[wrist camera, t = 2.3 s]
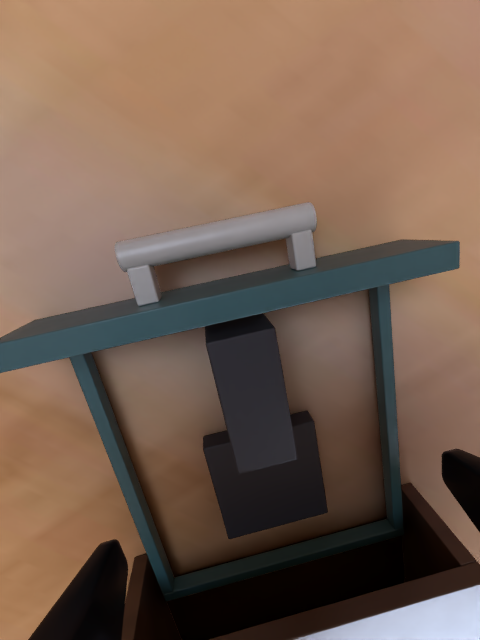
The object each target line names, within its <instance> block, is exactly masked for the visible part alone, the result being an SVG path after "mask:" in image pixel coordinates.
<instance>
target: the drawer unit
mask: <svg viewBox="0 0 480 640" xmlns="http://www.w3.org/2000/svg"><path fill="white" fill-rule="evenodd" d="M401 494H402V511H403V528H404V535H402V545H403V561H404V577H405V583H402V584H398V585H395V586H391V587H388V588H384V589H381V590H378V591H374V592H371V593H367V594H364V595H360V596H357V597H353V598H350V599H347V600H343V601H340V602H336V603H333V604H329V605H326V606H323V607H319V608H316V609H312V610H309V611H305V612H302V613H298V614H295V615H292V616H288V617H285V618H281V619H278V620H274V621H271V622H267V623H264V624H261V625H257V626H254V627H250V628H247V629H243V630H240V631H236V632H233V633H230V634H226V635H223V636H219V637H216V638H212V639H209V640H480V564H479V563H478V562H476V560H475V558H474V557H473V556H472V555H471V554H470V552H469V551H468V550H467V549H466V548H465V546H464V545H463V544H462V543H461V542H460V541H459V539H458V538H457V537H456V536H455V535H454V533H453V532H452V531H451V530H450V529H449V527H448V526H447V525H446V524H445V523H444V522H443V520H442V519H441V518H440V517H439V516H438V514H437V513H436V512H435V511H434V510H433V508H432V507H431V506H430V505H429V504H428V503H427V501H426V500H425V499H424V498H423V497H422V495H421V494H420V493H419V492H418V491H417V490H416V488H415V487H414V486H413V485H412V484H411V483H408V484H405V485H401ZM121 640H182V639H181V636H180V634H179V631H178V629H177V626H176V624H175V621H174V619H173V616H172V614H171V611H170V608H169V606H168V603H167V601H165V598H164V596H163V594H162V591H161V588H160V586H159V583H158V581H157V578H156V576H155V573H154V571H153V568H152V566H151V563H150V561H149V558H148V556H147V554H146V555H142V556H138V557H135V558H134V563H133V568H132V572H131V577H130V582H129V587H128V592H127V596H126V601H125V608H124V618H123V629H122V639H121Z"/></svg>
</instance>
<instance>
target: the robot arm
mask: <svg viewBox="0 0 480 640" xmlns="http://www.w3.org/2000/svg"><path fill="white" fill-rule="evenodd" d="M442 478H443V480H444V483H445V484H446V486H447V487H448V489H449V490H450V491H451V493H452V494H453V496H454V497H455V498H456V500H457V501H458V503H459V504H460V505H461V507H462V508H463V510H464V511H465V512H466V514H467V515H468V517H469V518H470V519H471V521H472V522H473V524H474V525H475V526H476V528H477V529H478V531H479V532H480V457H477V456H475V455H472V454H470V453H468V452H465V451H463V450H460V449H453V450H449V451H445V452H443V454H442ZM127 576H128V564H127V560H126V557H125V555H124V553H123V550H122V548H121V546H120V543H119V541H118V540H116V539H114V540H110V541H106V542H103V543H101V544H100V545H99V546H98V547H97V548H96V549H95V551H94V552H93V553H92V555H91V556H90V557H89V559H88V560H87V562H86V563H85V564H84V566H83V567H82V568H81V570H80V571H79V572H78V574H77V575H76V576H75V578H74V579H73V580H72V582H71V583H70V584H69V586H68V587H67V588H66V590H65V591H64V592H63V594H62V595H61V596H60V598H59V599H58V600H57V602H56V603H55V604H54V606H53V607H52V608H51V610H50V611H49V612H48V614H47V615H46V617H45V618H44V619H43V621H42V622H41V623H40V625H39V626H38V627H37V629H36V630H35V631H34V633H33V634H32V635H31V637H30V638H29V639H28V640H121V639H122V629H123V618H124V608H125V597H126V586H127Z"/></svg>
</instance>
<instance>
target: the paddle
mask: <svg viewBox="0 0 480 640" xmlns="http://www.w3.org/2000/svg"><path fill="white" fill-rule="evenodd" d="M205 337H206V347H207V351H208V355H209V359H210V363H211V367H212V371H213V375H214V379H215V383H216V387H217V391H218V395H219V399H220V403H221V407H222V411H223V415H224V419H225V423H226V427H227V431H223V432H219V433H215V434H211V435H207V436H204V437H203V450H204V454H205V457H206V461H207V464H208V468H209V471H210V475H211V479H212V482H213V486H214V489H215V493H216V496H217V500H218V503H219V507H220V510H221V514H222V517H223V521H224V525H225V528H226V532H227V535H228V538H229V539H232V538H236V537H240V536H243V535H247V534H251V533H254V532H258V531H262V530H265V529H269V528H273V527H277V526H280V525H284V524H288V523H291V522H295V521H299V520H302V519H306V518H310V517H313V516H317V515H321V514H324V513H327V512H328V511H327V504H326V498H325V491H324V484H323V478H322V471H321V465H320V458H319V451H318V445H317V438H316V432H315V425H314V421H313V419H312V417H311V416H310V414H309V412H308V411H304V412H300V413H296V414H292V415H290V411H289V405H288V399H287V394H286V388H285V382H284V377H283V371H282V365H281V360H280V354H279V348H278V343H277V337H276V331H275V328H274V327H273V325H272V324H271V323H270V321H269V320H268V319H267V318H266V316H265V315H264V314H263V313H261V314H257V315H252V316H248V317H244V318H239V319H235V320H230V321H226V322H222V323H217V324H213V325H208V326H205Z"/></svg>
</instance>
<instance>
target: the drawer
mask: <svg viewBox="0 0 480 640" xmlns="http://www.w3.org/2000/svg"><path fill="white" fill-rule="evenodd" d="M316 225H317V218H316V212H315V209H314V206H313V204H312V203H310V202H307V203H302V204H297V205H292V206H287V207H283V208H278V209H273V210H268V211H263V212H259V213H254V214H249V215H244V216H239V217H234V218H230V219H225V220H220V221H215V222H210V223H206V224H201V225H196V226H191V227H186V228H182V229H177V230H172V231H167V232H162V233H157V234H153V235H148V236H143V237H138V238H133V239H129V240H124V241H119V242H116V243H115V254H116V258H117V261H118V264H119V266H120V268H121V269H122V270H123V271H124V272H127V273H128V276H129V279H130V282H131V286H132V289H133V292H134V295H135V298H133V299H129V300H124V301H120V302H115V303H111V304H106V305H101V306H97V307H92V308H88V309H83V310H79V311H74V312H70V313H65V314H60V315H56V316H51V317H47V318H42V319H38V320H34V321H32V322H30V323H28V324H26V325H24V326H22V327H20V328H18V329H16V330H14V331H12V332H10V333H9V334H7V335H5V336H3V337H1V338H0V373H3V372H7V371H11V370H16V369H20V368H24V367H29V366H33V365H38V364H42V363H46V362H51V361H55V360H59V359H64V358H68V357H69V358H70V360H71V363H72V365H73V368H74V370H75V373H76V375H77V378H78V381H79V383H80V386H81V388H82V391H83V393H84V396H85V398H86V401H87V403H88V406H89V408H90V411H91V414H92V416H93V419H94V421H95V424H96V426H97V429H98V431H99V434H100V436H101V439H102V441H103V444H104V446H105V449H106V452H107V454H108V457H109V459H110V462H111V464H112V467H113V469H114V472H115V474H116V477H117V479H118V482H119V485H120V487H121V490H122V492H123V495H124V497H125V500H126V502H127V505H128V507H129V510H130V512H131V515H132V517H133V520H134V523H135V525H136V528H137V530H138V533H139V535H140V538H141V540H142V543H143V545H144V548H145V550H146V553H147V556H148V558H149V561H150V563H151V566H152V568H153V571H154V573H155V576H156V578H157V581H158V583H159V586H160V588H161V591H162V594H163V596H164V598H165V601H170V600H174V599H177V598H181V597H185V596H188V595H192V594H195V593H199V592H202V591H206V590H209V589H213V588H217V587H220V586H224V585H227V584H231V583H234V582H238V581H242V580H245V579H249V578H252V577H256V576H259V575H263V574H266V573H270V572H274V571H277V570H281V569H284V568H288V567H291V566H295V565H299V564H302V563H306V562H309V561H313V560H316V559H320V558H324V557H327V556H331V555H334V554H338V553H341V552H345V551H348V550H352V549H356V548H359V547H363V546H366V545H370V544H373V543H377V542H381V541H384V540H388V539H391V538H395V537H398V536H402V535H404V528H403V511H402V494H401V477H400V461H399V444H398V427H397V410H396V393H395V376H394V359H393V343H392V326H391V309H390V292H389V284H393V283H397V282H401V281H406V280H410V279H414V278H419V277H423V276H428V275H432V274H436V273H441V272H445V271H450V270H454V269H458V268H459V257H460V242H459V241H438V240H398V241H393V242H388V243H384V244H379V245H375V246H370V247H366V248H361V249H357V250H352V251H347V252H343V253H338V254H334V255H329V256H325V257H320V258H315V250H314V242H313V235H312V232H314V231H315V229H316ZM284 238H286V244H287V251H288V257H289V264H288V265H284V266H279V267H275V268H270V269H265V270H261V271H256V272H252V273H247V274H243V275H238V276H234V277H229V278H224V279H220V280H215V281H211V282H206V283H202V284H197V285H193V286H188V287H183V288H179V289H174V290H170V291H165V292H161V290H160V287H159V283H158V280H157V276H156V272H155V269H154V266H158V265H163V264H168V263H172V262H177V261H182V260H186V259H191V258H196V257H200V256H205V255H210V254H214V253H219V252H224V251H228V250H233V249H238V248H242V247H247V246H252V245H256V244H261V243H266V242H270V241H275V240H280V239H284ZM366 289H369V298H370V311H371V324H372V336H373V349H374V361H375V374H376V387H377V399H378V412H379V425H380V437H381V450H382V462H383V475H384V488H385V500H386V513H387V519H385V520H381V521H377V522H374V523H370V524H366V525H363V526H359V527H356V528H352V529H348V530H345V531H341V532H337V533H334V534H330V535H327V536H323V537H319V538H316V539H312V540H309V541H305V542H301V543H298V544H294V545H290V546H287V547H283V548H280V549H276V550H272V551H269V552H265V553H261V554H258V555H254V556H251V557H247V558H243V559H240V560H236V561H233V562H229V563H225V564H222V565H218V566H214V567H211V568H207V569H204V570H200V571H196V572H193V573H189V574H185V575H182V576H178V577H175V578H174V575H173V572H172V570H171V567H170V564H169V562H168V559H167V556H166V554H165V551H164V548H163V545H162V543H161V540H160V537H159V535H158V532H157V529H156V527H155V524H154V521H153V518H152V516H151V513H150V510H149V508H148V505H147V502H146V499H145V497H144V494H143V491H142V489H141V486H140V483H139V481H138V478H137V475H136V472H135V470H134V467H133V464H132V462H131V459H130V456H129V454H128V451H127V448H126V445H125V443H124V440H123V437H122V435H121V432H120V429H119V427H118V424H117V421H116V418H115V416H114V413H113V410H112V408H111V405H110V402H109V399H108V397H107V394H106V391H105V389H104V386H103V383H102V381H101V378H100V375H99V372H98V370H97V367H96V364H95V362H94V359H93V356H92V354H91V352H95V351H99V350H103V349H108V348H112V347H116V346H121V345H125V344H130V343H134V342H138V341H143V340H147V339H152V338H156V337H160V336H165V335H169V334H173V333H178V332H182V331H187V330H191V329H195V328H200V327H204V326H208V325H213V324H217V323H222V322H226V321H230V320H235V319H239V318H244V317H248V316H252V315H257V314H261V313H265V312H270V311H274V310H279V309H283V308H287V307H292V306H296V305H301V304H305V303H309V302H314V301H318V300H322V299H327V298H331V297H336V296H340V295H344V294H349V293H353V292H357V291H362V290H366Z"/></svg>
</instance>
